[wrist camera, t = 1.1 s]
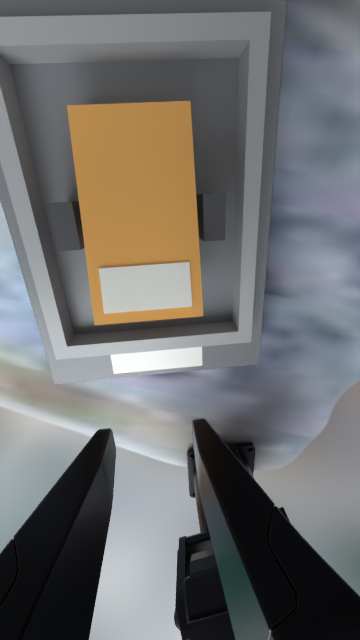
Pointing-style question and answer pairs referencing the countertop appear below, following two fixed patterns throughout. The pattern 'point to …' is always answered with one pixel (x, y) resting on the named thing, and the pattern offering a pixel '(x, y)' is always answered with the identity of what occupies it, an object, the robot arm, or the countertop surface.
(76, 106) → the plate
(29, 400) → the countertop surface
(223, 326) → the switch panel
